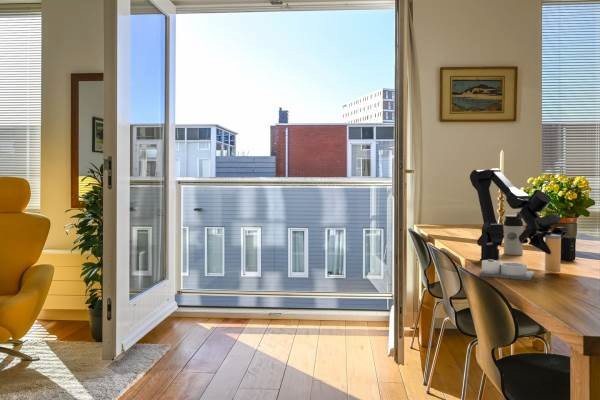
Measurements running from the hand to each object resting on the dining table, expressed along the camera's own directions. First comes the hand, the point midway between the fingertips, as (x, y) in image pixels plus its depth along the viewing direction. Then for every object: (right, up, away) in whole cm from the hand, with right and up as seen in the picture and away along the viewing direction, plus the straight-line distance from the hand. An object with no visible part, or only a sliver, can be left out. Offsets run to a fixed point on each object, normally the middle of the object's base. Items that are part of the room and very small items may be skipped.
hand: (555, 253), depth 180 cm
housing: (-17, -8, 0) cm, 19 cm away
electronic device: (+19, -6, +33) cm, 39 cm away
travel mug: (+5, -6, +49) cm, 49 cm away
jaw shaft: (0, -7, +2) cm, 7 cm away
